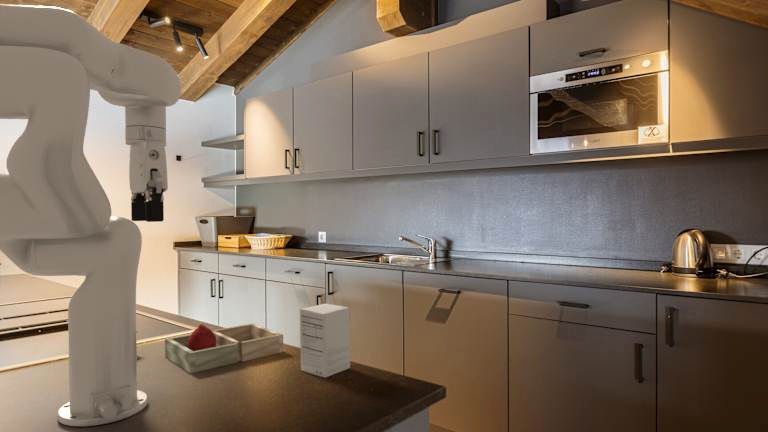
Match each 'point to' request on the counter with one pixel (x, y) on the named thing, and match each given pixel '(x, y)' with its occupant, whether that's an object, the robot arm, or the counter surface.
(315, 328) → the supplement box
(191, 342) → the onion
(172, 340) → the compartment tray
